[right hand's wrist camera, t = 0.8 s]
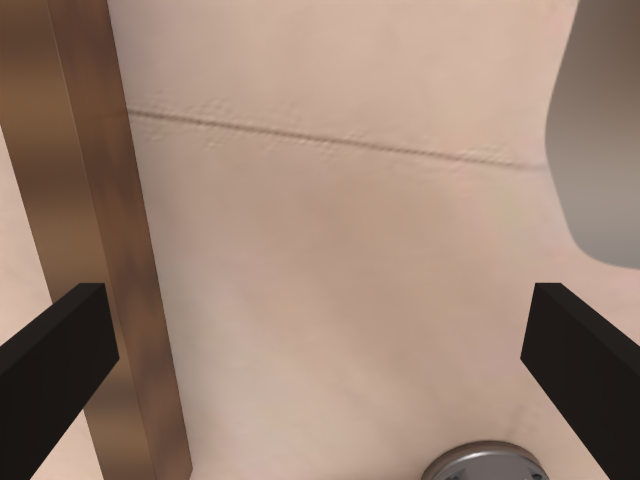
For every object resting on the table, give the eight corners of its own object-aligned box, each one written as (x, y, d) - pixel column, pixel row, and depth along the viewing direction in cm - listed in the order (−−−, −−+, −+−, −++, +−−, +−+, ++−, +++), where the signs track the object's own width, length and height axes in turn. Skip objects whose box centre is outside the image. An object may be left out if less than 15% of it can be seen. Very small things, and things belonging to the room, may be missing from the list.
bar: (192, 469, 49) (170, 538, 42) (151, 470, 49) (120, 539, 42) (14, -504, 23) (-134, -791, 15) (-75, -501, 23) (-266, -785, 15)
